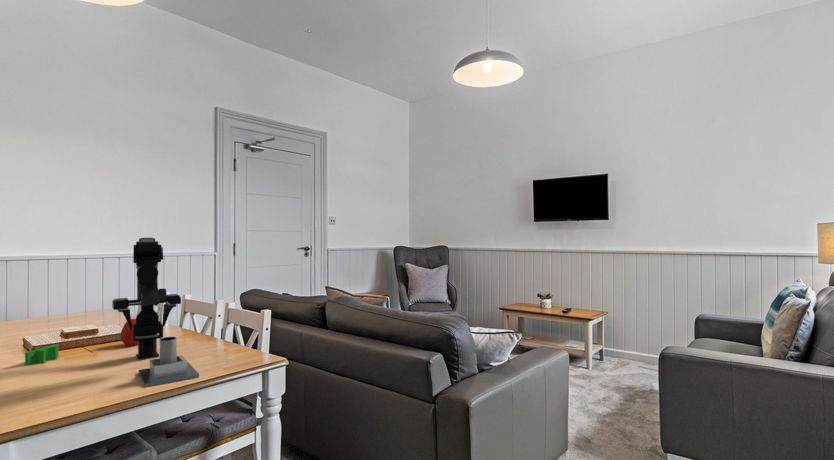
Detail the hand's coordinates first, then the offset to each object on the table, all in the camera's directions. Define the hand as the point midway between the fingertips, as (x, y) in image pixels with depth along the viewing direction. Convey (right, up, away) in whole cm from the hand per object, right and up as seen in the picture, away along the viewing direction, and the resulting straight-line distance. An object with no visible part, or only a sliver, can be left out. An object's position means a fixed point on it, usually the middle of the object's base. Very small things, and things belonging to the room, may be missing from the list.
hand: (147, 328), depth 147 cm
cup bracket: (+10, -13, -7) cm, 18 cm away
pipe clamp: (-40, -14, +8) cm, 43 cm away
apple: (-23, -13, +30) cm, 40 cm away
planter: (+10, -12, -7) cm, 18 cm away
